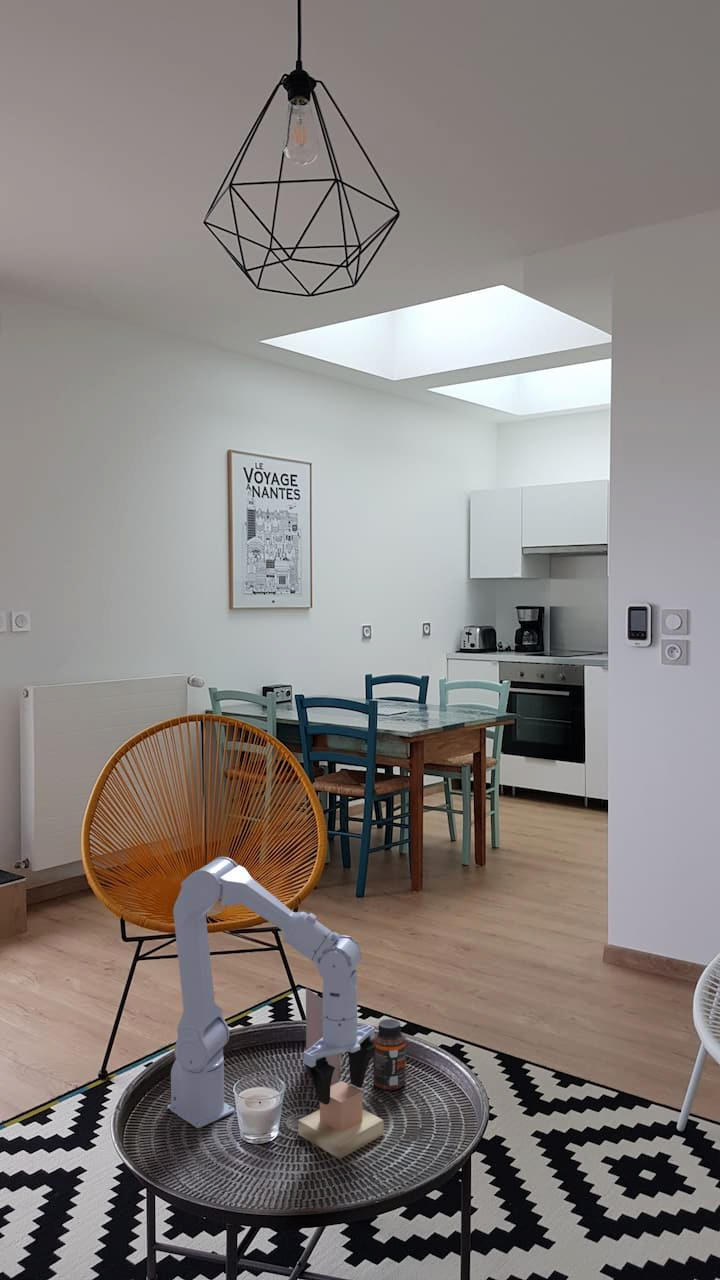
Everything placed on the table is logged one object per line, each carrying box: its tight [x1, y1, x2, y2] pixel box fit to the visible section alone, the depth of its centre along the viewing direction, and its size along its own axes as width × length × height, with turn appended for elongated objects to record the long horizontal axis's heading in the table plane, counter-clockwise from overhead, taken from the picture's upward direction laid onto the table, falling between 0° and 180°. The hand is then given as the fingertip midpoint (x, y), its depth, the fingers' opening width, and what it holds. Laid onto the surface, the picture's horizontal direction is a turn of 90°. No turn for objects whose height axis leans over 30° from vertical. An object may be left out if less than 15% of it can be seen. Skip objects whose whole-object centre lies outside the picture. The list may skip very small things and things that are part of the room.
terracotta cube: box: [319, 1080, 363, 1132], centre depth 166 cm, size 5×5×5 cm
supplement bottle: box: [372, 1018, 407, 1091], centre depth 183 cm, size 6×6×11 cm
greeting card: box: [305, 987, 343, 1086], centre depth 186 cm, size 11×7×15 cm, turn 178°
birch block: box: [297, 1108, 384, 1160], centre depth 166 cm, size 10×10×3 cm
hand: (340, 1093), depth 166 cm, fingers open, 7 cm apart
